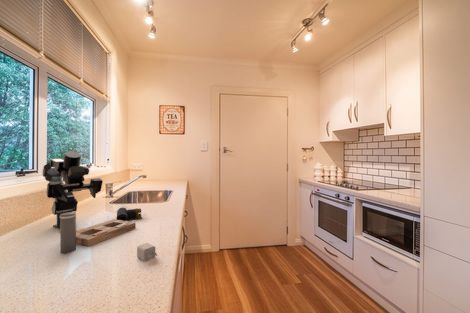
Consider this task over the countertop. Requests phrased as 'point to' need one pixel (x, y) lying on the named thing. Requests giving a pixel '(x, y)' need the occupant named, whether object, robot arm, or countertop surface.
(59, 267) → the countertop surface
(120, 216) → the pipe connector
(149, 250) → the usb wall charger
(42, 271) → the countertop surface
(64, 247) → the grey cylinder
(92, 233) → the socket plate
